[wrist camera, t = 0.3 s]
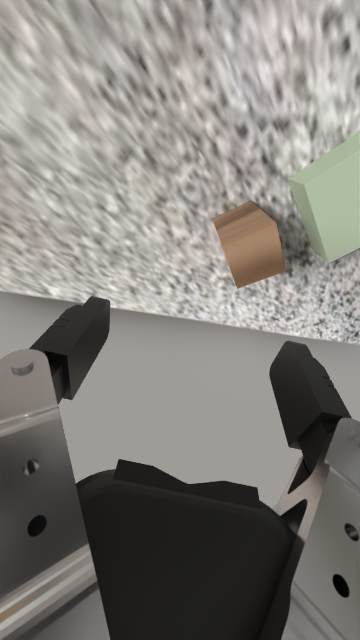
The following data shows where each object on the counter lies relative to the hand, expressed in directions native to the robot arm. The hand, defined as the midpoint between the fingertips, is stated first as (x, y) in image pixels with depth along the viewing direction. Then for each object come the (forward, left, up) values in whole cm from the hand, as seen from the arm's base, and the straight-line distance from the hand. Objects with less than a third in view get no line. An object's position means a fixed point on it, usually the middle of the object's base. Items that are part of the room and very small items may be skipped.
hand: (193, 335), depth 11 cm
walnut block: (-1, +7, -24) cm, 25 cm away
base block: (-10, +16, -24) cm, 30 cm away
